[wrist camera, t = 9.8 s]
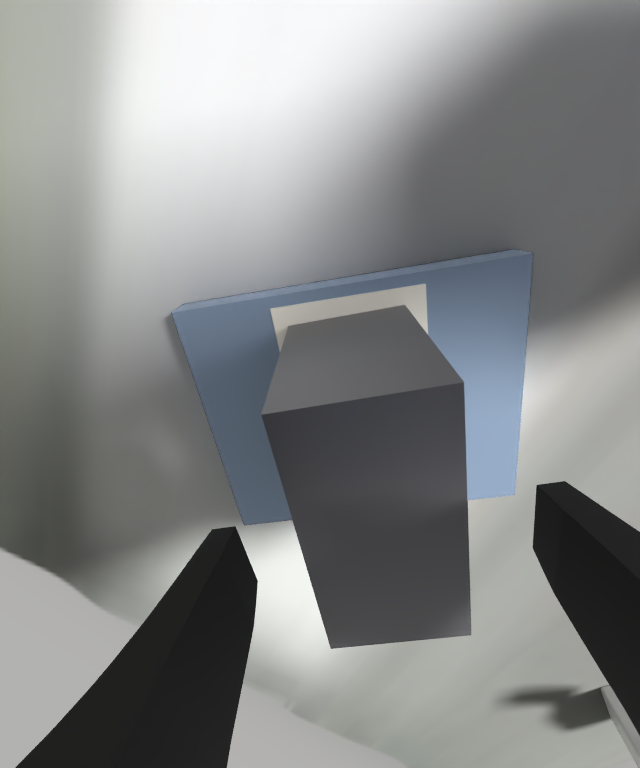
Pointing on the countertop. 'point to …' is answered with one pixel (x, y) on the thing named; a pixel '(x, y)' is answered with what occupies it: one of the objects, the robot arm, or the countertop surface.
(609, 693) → the lighter
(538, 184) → the countertop surface
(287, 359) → the block
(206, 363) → the header board
